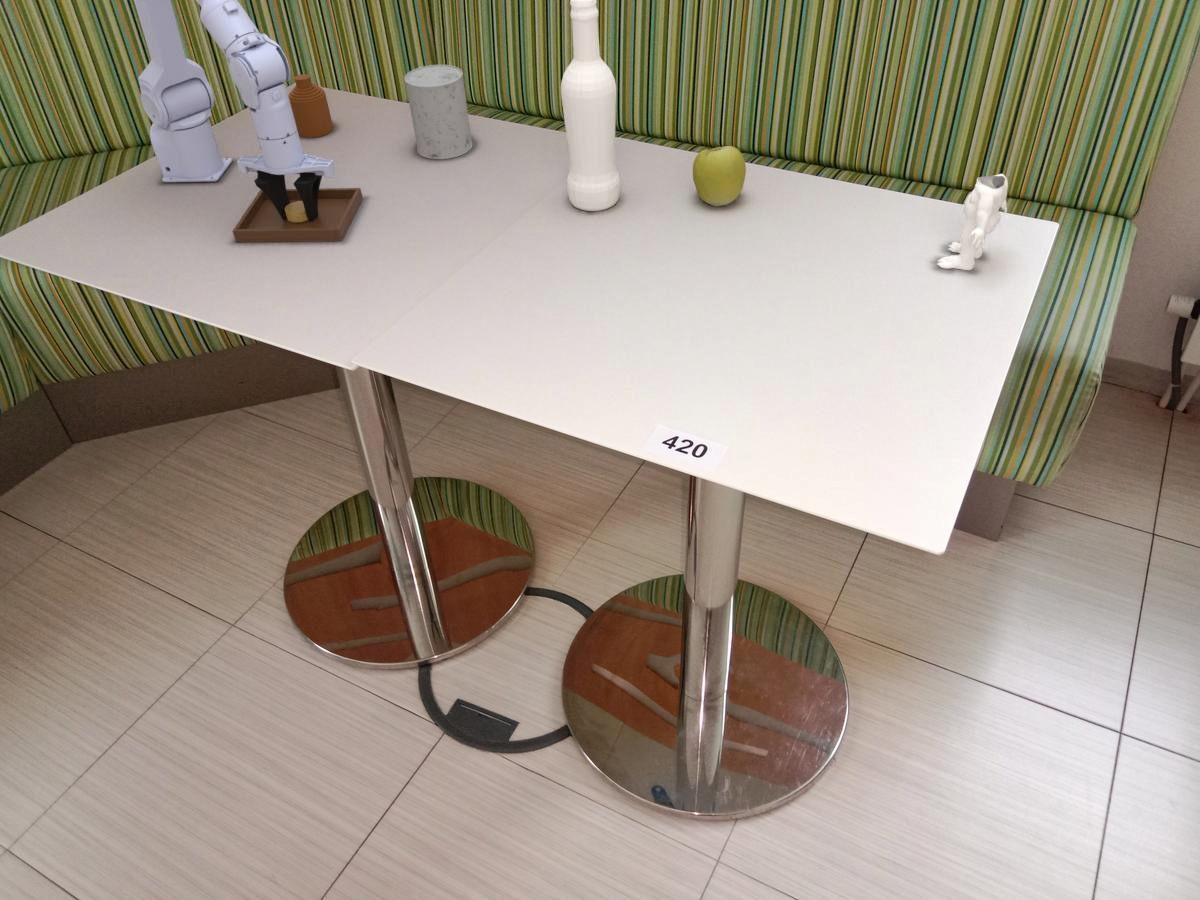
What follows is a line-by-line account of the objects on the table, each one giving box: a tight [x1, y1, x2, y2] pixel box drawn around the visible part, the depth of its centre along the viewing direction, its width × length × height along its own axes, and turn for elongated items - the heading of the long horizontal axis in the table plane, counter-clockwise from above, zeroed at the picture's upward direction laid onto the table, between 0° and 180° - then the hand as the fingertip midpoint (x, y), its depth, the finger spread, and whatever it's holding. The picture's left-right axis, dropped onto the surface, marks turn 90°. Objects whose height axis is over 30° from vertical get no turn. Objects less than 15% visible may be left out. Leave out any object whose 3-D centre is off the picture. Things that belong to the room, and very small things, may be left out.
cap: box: [285, 201, 308, 223], centre depth 148 cm, size 4×4×2 cm
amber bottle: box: [288, 73, 334, 139], centre depth 171 cm, size 6×6×10 cm
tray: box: [232, 187, 364, 243], centre depth 148 cm, size 16×13×2 cm
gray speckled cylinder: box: [403, 64, 473, 160], centre depth 162 cm, size 10×10×12 cm
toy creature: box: [936, 173, 1009, 271], centre depth 128 cm, size 12×6×12 cm, turn 147°
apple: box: [692, 141, 747, 207], centre depth 145 cm, size 8×8×10 cm
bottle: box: [560, 0, 621, 212], centre depth 140 cm, size 8×8×30 cm
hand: (300, 217), depth 149 cm, fingers closed on cap, 4 cm apart
